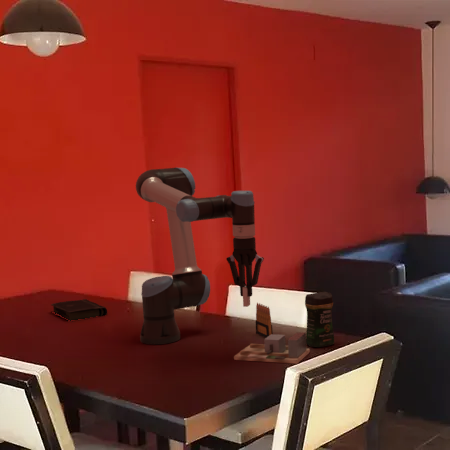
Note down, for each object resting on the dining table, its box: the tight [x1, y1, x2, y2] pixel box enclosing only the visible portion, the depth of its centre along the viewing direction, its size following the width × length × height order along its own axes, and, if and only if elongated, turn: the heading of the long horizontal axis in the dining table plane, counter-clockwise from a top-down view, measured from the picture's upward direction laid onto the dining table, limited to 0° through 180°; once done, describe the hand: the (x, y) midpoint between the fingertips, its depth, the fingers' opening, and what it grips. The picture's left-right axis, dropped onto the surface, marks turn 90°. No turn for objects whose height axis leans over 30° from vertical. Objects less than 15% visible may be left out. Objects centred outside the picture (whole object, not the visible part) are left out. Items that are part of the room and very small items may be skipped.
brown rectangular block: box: [287, 331, 307, 358], centre depth 245 cm, size 3×10×6 cm, turn 157°
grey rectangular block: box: [263, 333, 287, 355], centre depth 246 cm, size 5×11×5 cm, turn 157°
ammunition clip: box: [255, 302, 274, 339], centre depth 276 cm, size 11×2×12 cm, turn 24°
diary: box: [50, 298, 108, 321], centre depth 333 cm, size 19×25×5 cm
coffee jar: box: [304, 291, 335, 348], centre depth 258 cm, size 10×8×19 cm
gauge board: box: [233, 343, 311, 365], centre depth 248 cm, size 22×14×2 cm, turn 67°
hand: (246, 305), depth 251 cm, fingers closed
